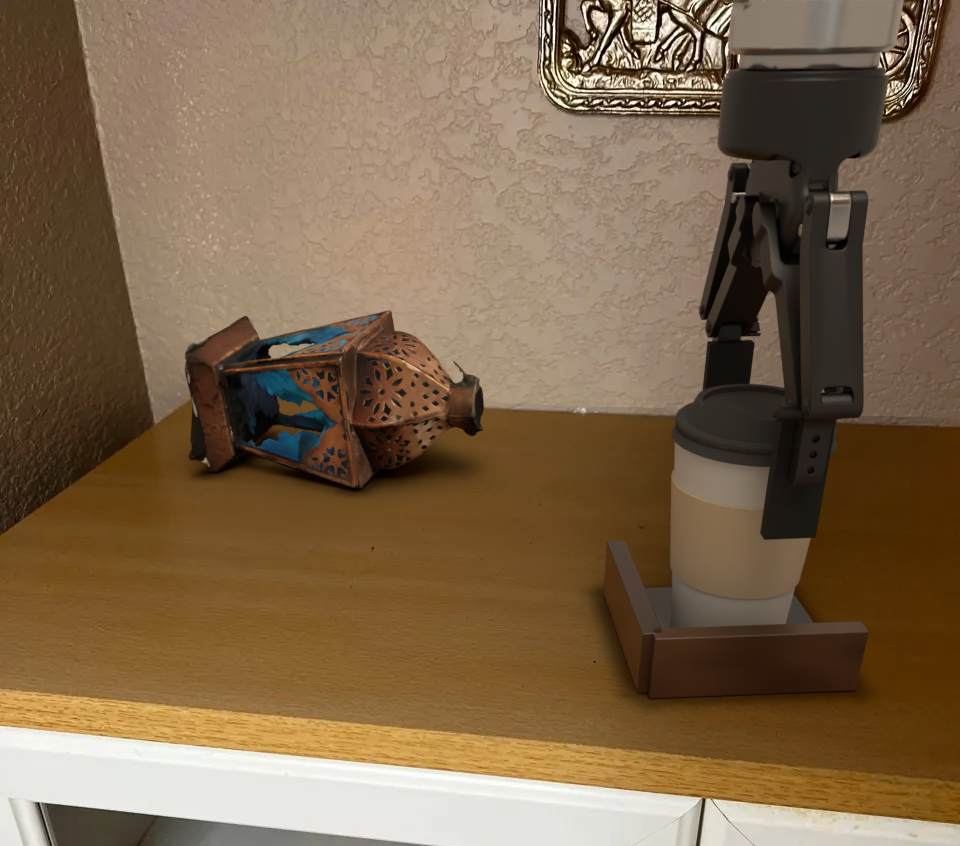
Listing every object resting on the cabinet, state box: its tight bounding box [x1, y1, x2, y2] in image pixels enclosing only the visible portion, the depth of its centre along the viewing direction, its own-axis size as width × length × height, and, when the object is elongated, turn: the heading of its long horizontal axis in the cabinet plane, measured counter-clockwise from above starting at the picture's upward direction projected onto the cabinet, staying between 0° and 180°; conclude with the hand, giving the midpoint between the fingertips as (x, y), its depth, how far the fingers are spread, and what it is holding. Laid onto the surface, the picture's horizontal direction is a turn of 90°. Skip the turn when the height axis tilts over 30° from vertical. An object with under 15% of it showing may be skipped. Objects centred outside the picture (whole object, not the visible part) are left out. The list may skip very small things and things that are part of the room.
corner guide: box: [603, 540, 870, 699], centre depth 60 cm, size 13×13×4 cm
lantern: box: [184, 310, 485, 490], centre depth 85 cm, size 16×16×25 cm
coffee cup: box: [669, 383, 838, 628], centre depth 58 cm, size 9×9×15 cm
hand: (749, 486), depth 57 cm, fingers open, 13 cm apart
